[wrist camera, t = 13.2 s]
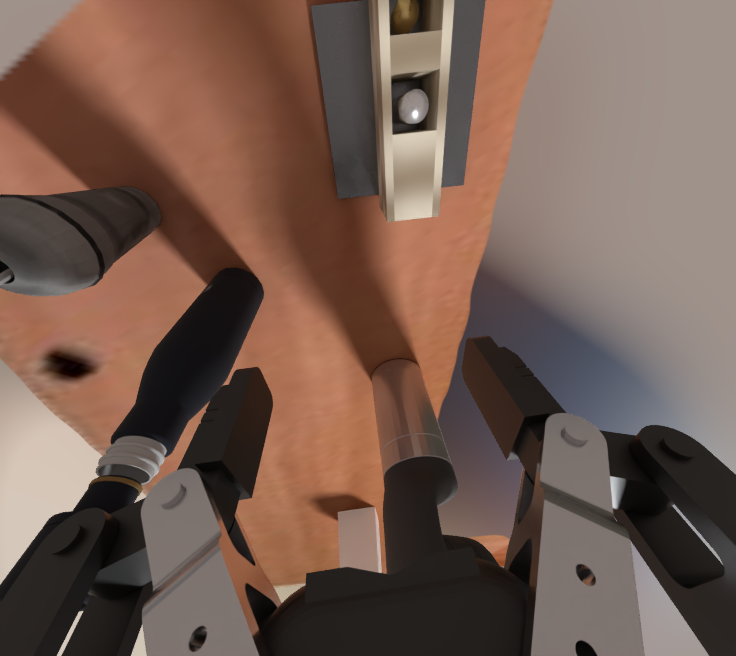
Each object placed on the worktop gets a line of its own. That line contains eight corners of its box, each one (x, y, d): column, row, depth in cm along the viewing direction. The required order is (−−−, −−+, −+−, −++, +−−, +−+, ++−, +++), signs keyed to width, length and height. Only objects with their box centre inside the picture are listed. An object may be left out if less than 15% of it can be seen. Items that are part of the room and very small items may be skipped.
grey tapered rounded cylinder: (149, 166, 27) (-121, 223, 11) (188, 237, 32) (33, 350, 16) (79, 176, 27) (-288, 249, 11) (127, 246, 32) (-88, 368, 16)
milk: (374, 506, 86) (385, 627, 65) (378, 519, 92) (389, 632, 72) (337, 511, 86) (336, 634, 65) (344, 524, 93) (345, 638, 72)
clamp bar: (423, 201, 30) (439, 216, 26) (379, 206, 30) (387, 222, 26) (432, -42, 20) (461, -95, 15) (366, -36, 20) (374, -86, 15)
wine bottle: (258, 315, 39) (128, 616, 15) (210, 300, 37) (-28, 622, 13) (268, 278, 35) (121, 589, 12) (216, 260, 33) (-92, 593, 10)
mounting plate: (460, 183, 30) (489, 197, 24) (338, 197, 30) (337, 214, 24) (481, -8, 22) (534, -58, 16) (311, 10, 22) (301, -34, 16)
